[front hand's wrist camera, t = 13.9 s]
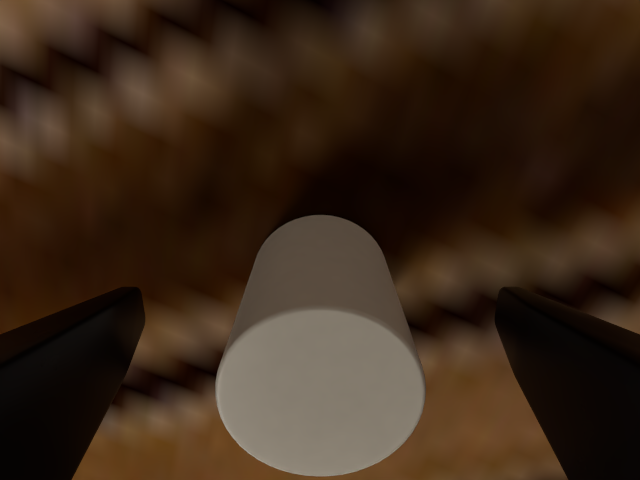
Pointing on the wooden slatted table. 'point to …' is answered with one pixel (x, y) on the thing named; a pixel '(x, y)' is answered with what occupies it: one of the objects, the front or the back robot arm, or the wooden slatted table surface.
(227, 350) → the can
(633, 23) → the wooden slatted table surface
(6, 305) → the wooden slatted table surface
